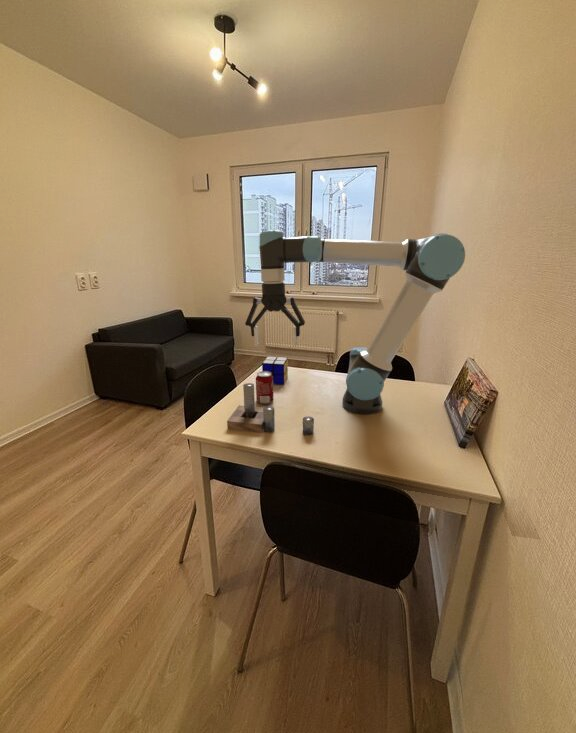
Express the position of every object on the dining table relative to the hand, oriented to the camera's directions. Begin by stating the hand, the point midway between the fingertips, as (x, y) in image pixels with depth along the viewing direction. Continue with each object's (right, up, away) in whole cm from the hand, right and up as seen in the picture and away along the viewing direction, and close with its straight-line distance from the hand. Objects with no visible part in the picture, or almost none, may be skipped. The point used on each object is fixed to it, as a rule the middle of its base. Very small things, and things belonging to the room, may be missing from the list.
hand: (276, 345), depth 112 cm
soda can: (-5, -22, +17) cm, 28 cm away
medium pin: (-2, -29, -4) cm, 29 cm away
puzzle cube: (-2, -14, +39) cm, 41 cm away
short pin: (+11, -29, -5) cm, 32 cm away
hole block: (-9, -27, +2) cm, 28 cm away
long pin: (-9, -27, +2) cm, 28 cm away
